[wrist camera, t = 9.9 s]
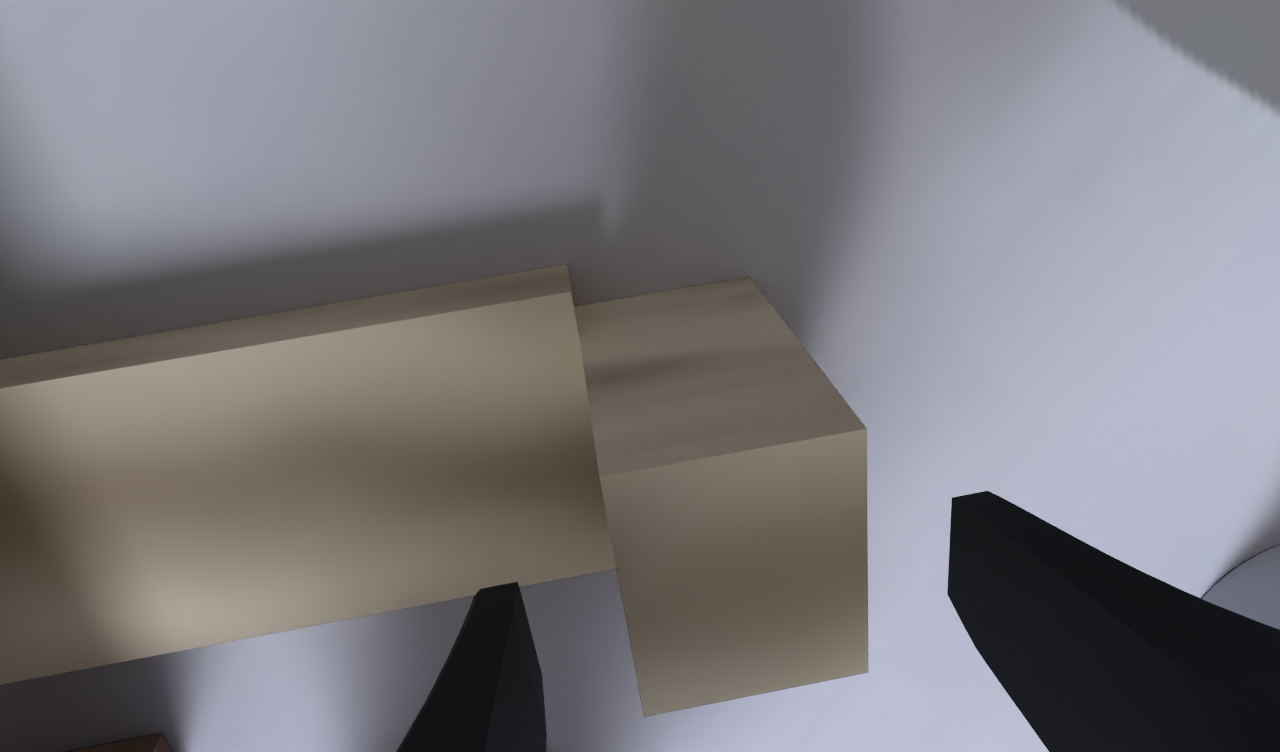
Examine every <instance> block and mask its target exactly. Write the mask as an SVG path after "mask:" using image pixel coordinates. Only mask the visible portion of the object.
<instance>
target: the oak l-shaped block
mask: <svg viewBox="0 0 1280 752" xmlns="http://www.w3.org/2000/svg"><path fill="white" fill-rule="evenodd" d="M613 569H617V574H618V579H619V585H620V590H621V595H622V601H623V606H624V612H625V617H626V622H627V628H628V633H629V638H630V644H631V649H632V655H633V660H634V665H635V671H636V676H637V681H638V687H639V692H640V698H641V703H642V708H643V714H644V717H647V716H652V715H657V714H662V713H667V712H672V711H677V710H682V709H687V708H692V707H697V706H702V705H707V704H712V703H717V702H722V701H727V700H732V699H737V698H742V697H747V696H753V695H758V694H763V693H768V692H773V691H778V690H783V689H788V688H793V687H798V686H803V685H808V684H813V683H818V682H823V681H828V680H833V679H838V678H843V677H848V676H853V675H858V674H863V673H868V565H867V429H866V427H865V426H864V425H863V423H862V422H861V421H860V419H859V418H858V417H857V416H856V414H855V413H854V412H853V410H852V409H851V408H850V406H849V405H848V404H847V403H846V401H845V400H844V399H843V397H842V396H841V395H840V393H839V392H838V391H837V389H836V388H835V387H834V386H833V384H832V383H831V382H830V380H829V379H828V378H827V376H826V375H825V374H824V372H823V371H822V370H821V369H820V367H819V366H818V365H817V363H816V362H815V361H814V359H813V358H812V357H811V355H810V354H809V353H808V352H807V350H806V349H805V348H804V346H803V345H802V344H801V342H800V341H799V340H798V338H797V337H796V336H795V335H794V333H793V332H792V331H791V329H790V328H789V327H788V325H787V324H786V323H785V322H784V320H783V319H782V318H781V316H780V315H779V314H778V312H777V311H776V310H775V308H774V307H773V306H772V305H771V303H770V302H769V301H768V299H767V298H766V297H765V295H764V294H763V293H762V291H761V290H760V289H759V288H758V286H757V285H756V284H755V282H754V281H753V280H752V278H751V277H745V278H739V279H733V280H727V281H721V282H716V283H710V284H704V285H698V286H692V287H686V288H681V289H675V290H669V291H663V292H657V293H651V294H645V295H640V296H634V297H628V298H622V299H616V300H610V301H605V302H599V303H593V304H587V305H581V306H575V305H574V300H573V294H572V289H571V283H570V278H569V272H568V267H567V264H564V265H558V266H552V267H547V268H541V269H535V270H529V271H523V272H517V273H511V274H505V275H499V276H493V277H487V278H481V279H475V280H469V281H463V282H457V283H451V284H445V285H439V286H433V287H428V288H422V289H416V290H410V291H404V292H398V293H392V294H386V295H380V296H374V297H368V298H362V299H356V300H350V301H344V302H338V303H332V304H326V305H320V306H315V307H309V308H303V309H297V310H291V311H285V312H279V313H273V314H267V315H261V316H255V317H249V318H243V319H237V320H231V321H225V322H219V323H213V324H207V325H201V326H196V327H190V328H184V329H178V330H172V331H166V332H160V333H154V334H148V335H142V336H136V337H130V338H124V339H118V340H112V341H106V342H100V343H94V344H88V345H83V346H77V347H71V348H65V349H59V350H53V351H47V352H41V353H35V354H29V355H23V356H17V357H11V358H5V359H0V685H3V684H8V683H13V682H19V681H24V680H29V679H34V678H40V677H45V676H50V675H56V674H61V673H66V672H72V671H77V670H82V669H87V668H93V667H98V666H103V665H109V664H114V663H119V662H125V661H130V660H135V659H141V658H146V657H151V656H156V655H162V654H167V653H172V652H178V651H183V650H188V649H194V648H199V647H204V646H210V645H215V644H220V643H225V642H231V641H236V640H241V639H247V638H252V637H257V636H263V635H268V634H273V633H278V632H284V631H289V630H294V629H300V628H305V627H310V626H316V625H321V624H326V623H332V622H337V621H342V620H347V619H353V618H358V617H363V616H369V615H374V614H379V613H385V612H390V611H395V610H400V609H406V608H411V607H416V606H422V605H427V604H432V603H438V602H443V601H448V600H454V599H459V598H464V597H469V596H475V595H476V593H477V592H478V591H479V590H480V589H482V588H487V587H492V586H497V585H503V584H508V583H513V582H518V584H519V587H523V586H528V585H533V584H538V583H544V582H549V581H554V580H560V579H565V578H570V577H576V576H581V575H586V574H591V573H597V572H602V571H607V570H613Z"/></svg>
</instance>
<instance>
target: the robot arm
mask: <svg viewBox="0 0 1280 752" xmlns="http://www.w3.org/2000/svg"><path fill="white" fill-rule="evenodd" d="M948 596H949V598H950V600H951V602H952V604H953V606H954V608H955V609H956V611H957V613H958V615H959V617H960V619H961V621H962V623H963V625H964V627H965V629H966V630H967V632H968V634H969V636H970V638H971V640H972V641H973V643H974V645H975V647H976V649H977V650H978V652H979V653H980V654H981V656H982V657H983V659H984V660H985V662H986V663H987V665H988V666H989V667H990V669H991V670H992V672H993V673H994V675H995V676H996V677H997V679H998V680H999V682H1000V683H1001V685H1002V686H1003V687H1004V689H1005V690H1006V692H1007V693H1008V694H1009V696H1010V697H1011V699H1012V700H1013V701H1014V703H1015V704H1016V706H1017V707H1018V708H1019V710H1020V711H1021V713H1022V714H1023V715H1024V717H1025V718H1026V720H1027V721H1028V722H1029V724H1030V725H1031V727H1032V728H1033V729H1034V731H1035V732H1036V734H1037V735H1038V736H1039V738H1040V739H1041V741H1042V742H1043V743H1044V745H1045V746H1046V748H1047V749H1048V750H1049V752H1280V629H1277V628H1274V627H1271V626H1268V625H1266V624H1263V623H1260V622H1258V621H1255V620H1253V619H1250V618H1248V617H1245V616H1243V615H1240V614H1237V613H1235V612H1232V611H1230V610H1227V609H1225V608H1222V607H1220V606H1217V605H1215V604H1212V603H1210V602H1207V601H1205V600H1203V599H1200V598H1198V597H1196V596H1193V595H1191V594H1189V593H1187V592H1184V591H1182V590H1180V589H1178V588H1176V587H1173V586H1171V585H1169V584H1167V583H1165V582H1163V581H1161V580H1158V579H1156V578H1154V577H1152V576H1150V575H1148V574H1146V573H1143V572H1141V571H1139V570H1137V569H1135V568H1133V567H1131V566H1129V565H1127V564H1125V563H1123V562H1121V561H1119V560H1117V559H1115V558H1113V557H1111V556H1109V555H1107V554H1105V553H1103V552H1102V551H1100V550H1098V549H1096V548H1094V547H1092V546H1090V545H1088V544H1086V543H1084V542H1083V541H1081V540H1079V539H1077V538H1075V537H1073V536H1071V535H1069V534H1068V533H1066V532H1064V531H1062V530H1060V529H1058V528H1057V527H1055V526H1053V525H1051V524H1049V523H1047V522H1046V521H1044V520H1042V519H1040V518H1038V517H1036V516H1035V515H1033V514H1031V513H1029V512H1027V511H1025V510H1024V509H1022V508H1020V507H1018V506H1016V505H1014V504H1012V503H1011V502H1009V501H1007V500H1005V499H1003V498H1001V497H999V496H997V495H995V494H993V493H991V492H989V491H985V492H980V493H974V494H969V495H964V496H959V497H954V498H952V509H951V531H950V553H949V575H948ZM396 752H546V722H545V708H544V695H543V683H542V674H541V670H540V666H539V662H538V658H537V654H536V650H535V646H534V643H533V639H532V635H531V631H530V627H529V623H528V619H527V615H526V611H525V608H524V604H523V600H522V596H521V592H520V588H519V584H518V582H513V583H508V584H503V585H497V586H492V587H487V588H482V589H480V590H479V591H478V592H477V593H476V595H475V596H474V598H473V601H472V604H471V606H470V609H469V611H468V614H467V616H466V618H465V621H464V623H463V626H462V628H461V630H460V632H459V635H458V637H457V639H456V641H455V643H454V646H453V648H452V650H451V652H450V654H449V656H448V658H447V660H446V662H445V664H444V666H443V668H442V670H441V672H440V674H439V676H438V678H437V680H436V682H435V684H434V686H433V688H432V690H431V692H430V694H429V696H428V698H427V700H426V702H425V703H424V705H423V707H422V709H421V710H420V712H419V714H418V716H417V717H416V719H415V721H414V722H413V724H412V726H411V728H410V729H409V731H408V733H407V735H406V736H405V738H404V740H403V742H402V743H401V745H400V747H399V748H398V750H397V751H396Z"/></svg>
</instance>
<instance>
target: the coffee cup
mask: <svg viewBox="0 0 1280 752" xmlns="http://www.w3.org/2000/svg"><path fill="white" fill-rule="evenodd" d="M1202 599H1203V600H1205V601H1207V602H1210V603H1212V604H1215V605H1217V606H1220V607H1222V608H1225V609H1227V610H1230V611H1232V612H1235V613H1237V614H1240V615H1243V616H1245V617H1248V618H1250V619H1253V620H1255V621H1258V622H1260V623H1263V624H1266V625H1268V626H1271V627H1274V628H1277V629H1280V545H1278V546H1276V547H1273V548H1271V549H1269V550H1267V551H1264V552H1262V553H1260V554H1258V555H1257V556H1255V557H1253V558H1251V559H1249V560H1248V561H1246V562H1244V563H1243V564H1241V565H1240V566H1238V567H1237V568H1235V569H1234V570H1233V571H1231V572H1230V573H1229V574H1227V575H1226V576H1225V577H1224V578H1222V579H1221V580H1220V581H1219V582H1218V583H1217V584H1215V585H1214V586H1213V587H1212V588H1211V589H1210V590H1209V591H1208V592H1207V593H1206V594H1205V596H1204V597H1203V598H1202Z"/></svg>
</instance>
